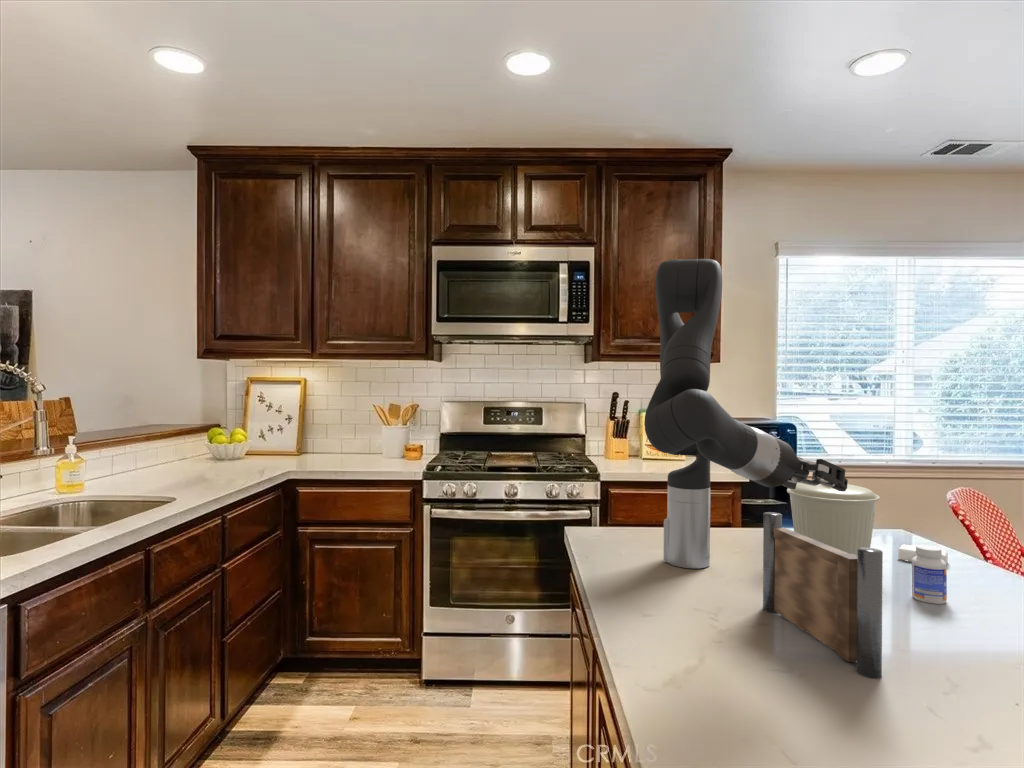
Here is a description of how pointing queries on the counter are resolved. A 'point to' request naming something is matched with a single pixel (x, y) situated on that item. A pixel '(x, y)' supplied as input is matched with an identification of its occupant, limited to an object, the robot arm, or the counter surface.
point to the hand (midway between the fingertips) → (818, 484)
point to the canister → (834, 515)
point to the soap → (910, 552)
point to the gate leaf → (817, 590)
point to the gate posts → (866, 597)
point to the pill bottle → (929, 575)
